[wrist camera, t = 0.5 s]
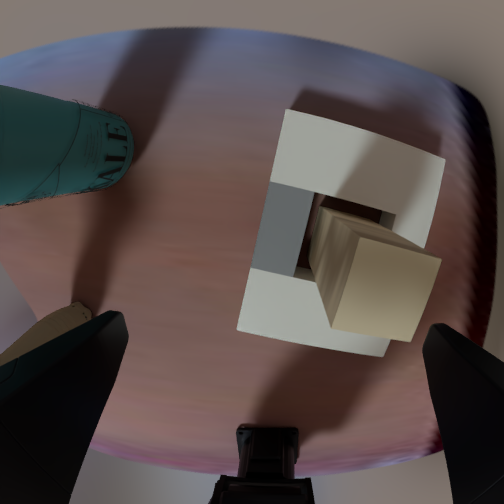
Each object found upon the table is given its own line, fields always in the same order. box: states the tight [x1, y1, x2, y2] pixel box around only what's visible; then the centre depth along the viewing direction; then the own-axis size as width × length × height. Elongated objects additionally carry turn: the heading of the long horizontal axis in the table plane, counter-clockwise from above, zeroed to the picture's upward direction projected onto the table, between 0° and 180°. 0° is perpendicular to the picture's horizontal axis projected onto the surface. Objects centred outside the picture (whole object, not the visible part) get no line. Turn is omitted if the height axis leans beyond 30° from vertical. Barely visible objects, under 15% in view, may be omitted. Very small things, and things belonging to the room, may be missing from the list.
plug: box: [307, 206, 442, 342], centre depth 18 cm, size 4×4×12 cm
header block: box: [237, 109, 445, 357], centre depth 22 cm, size 16×12×3 cm
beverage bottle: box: [0, 85, 134, 209], centre depth 14 cm, size 6×7×20 cm
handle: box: [0, 302, 92, 366], centre depth 20 cm, size 5×6×15 cm
